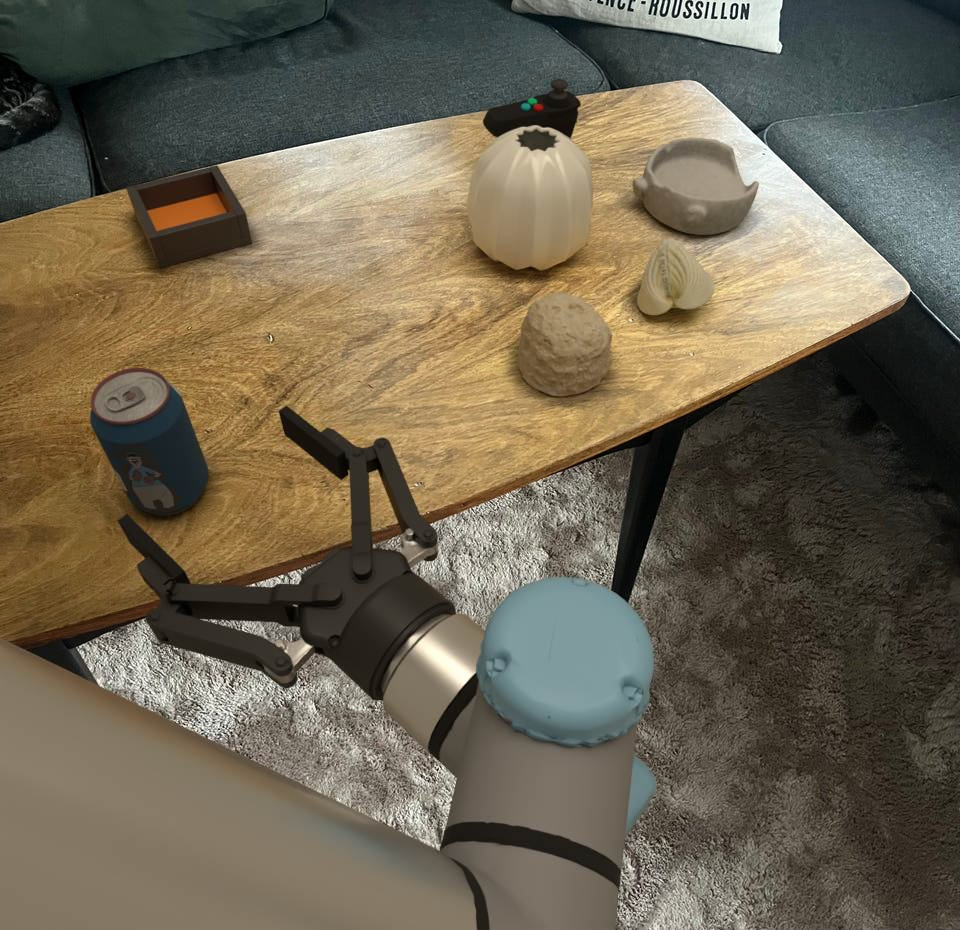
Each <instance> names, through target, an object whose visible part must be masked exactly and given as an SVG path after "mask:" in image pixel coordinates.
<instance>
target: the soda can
mask: <svg viewBox="0 0 960 930" xmlns="http://www.w3.org/2000/svg"><path fill="white" fill-rule="evenodd" d="M90 396H91V397H90V406H91V408H90V409H91V410H90V412H89V413H90V414H89V421H90V426H91V428H92V430H93V432H94V435H95V436H96V438H97V440H98V443H99V444H100V446H101V448H102V450H103V452H104V454H105V455H106V458H107V460H108V461H109V462H108V463H109V464H110V465H111V468H112V469H113V471H114V474H115V475H116V477H117V479H118V481H119V484H120V485H121V487H122V489H123V491H124V494H125V495H126V498H127V499H128V501H129V502H130V503H131V505H133V506H134V507H136V508H137V509H139V510H141V511H143V512H146V513H149V514H152V515H158V516H172V515H176V514H179V513H182V512H184V511H186V510H188V509H189V508H191V507H192V506H194V505H195V504H196V503H197V502H198V500H199V499H201V497H202V495H203V494H204V491H205V490H206V489H207V485H208V482H209V477H210V472H209V467H208V464H207V461H206V458H205V455H204V453H203V451H202V447H201V445H200V442H199V439H198V437H197V434H196V432H195V429H194V426H193V424H192V423H193V422H192V420H191V418H190V415H189V412H188V410H187V407H186V404H185V401H184V399H183V396H182V394H181V392H180V390H178V388H177V387H176V386H175V385H173V384H172V383H171V382H169V381H168V380H167V378H166V377H165V376H164V375H163V374H162V373H160V372H158V371H156V370H154V369H151V368H146V367H129V368H124V369H121V370H118V371H116V372H114V373H112V374H109V375H107V376H106V377H105V378H104V379H102V380H101V381H100V382H98V384H97V385H96V386H95V388H94V389H93V391H92V393H91V395H90Z"/></svg>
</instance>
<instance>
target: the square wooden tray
mask: <svg viewBox="0 0 960 930" xmlns="http://www.w3.org/2000/svg"><path fill="white" fill-rule="evenodd" d="M125 188H126V192H127V194H128V198H129V200H130V205H131V206H132V209H133V212H134V215H135V218H136V220H137V222H138V224H139V226H140V229H141V231H142V233H143V235H144V238H145V240H146V241H147V244H148V247H149V249H150V251H151V252H152V255H153V257H154V259H155V262H156V264H157V266H158V268H159V269H164V268H166V267H170V266H175V265H177V264H178V265H179V264H182V263H185V262H189V261H193V260H196V259H200V258H204V257H207V256H210V255H214V254H217V253H221V252H224V251H225V252H226V251H228V250H233V249H236V248H240V247H243V246H246V245H249V244H253V239H252V236H251V232H250V225H249V221H248V216H247V213H246V211H245V210H244V207H243V205H242V203H241V202H240V201H239V199H238V197H237V195H236V194H235V192H234V191H233V189H232V187H231V186H230V184H229V182H228V181H227V179H226V177H225V175H224V174H223V172H222V170H221V169H220V168H219V166H218V165H216V164H215V165H213V166H209V167H204V168H199V169H197V170H192V171H188V172H184V173H180V174H176V175H172V176H167V177H163V178H158V179H154V180H152V181H147V182H143V183H139V184H134V185H129V186H126V187H125Z"/></svg>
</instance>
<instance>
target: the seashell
mask: <svg viewBox="0 0 960 930" xmlns="http://www.w3.org/2000/svg"><path fill="white" fill-rule="evenodd" d="M648 258H649V259H648V260H647V263H646V265H645V268H644V269H643V273H642V277H641V282H640V288H639V290H638V293H637V297H636V304H637V307H638V309H639V310H640V312H641V313H644V314H645V315H649V316H660V315H662V314H665V313H667V312H668V311H669V310H671V309H682V310H695V309H698V308H700V307H702V306H704V305H706V304H707V303H708V302H709V301H710V300H711V299H712V297H713V295H714V293H715V281H714V279H713V277H712V275H711V274H710V273H709V272H708V271H707V270H705V268H704V267H703V266H702V265H701V264H700V262H699V260H698V259H697V257H696V256H694V254H692V252H691V251H689V250H688V249H687V248H686V247H685V246H684V245H683V244H681V242H678V241H677V240H676V239H675V238H671V237H665V238H662V240H661V241H660V242H659V243H657V245H656V247H655V249H653V251H652V253H651V254H650V257H648Z"/></svg>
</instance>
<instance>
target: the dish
mask: <svg viewBox="0 0 960 930" xmlns="http://www.w3.org/2000/svg"><path fill="white" fill-rule="evenodd" d="M734 151H735V150H734V147H732V146H730V145H729V144H727V143H724V142H722V141H720V140H718V139H715V138H705V137H685V138H675V139H671V140H670V141H668V143H663V144H661V145H659V146H658V147H657V148H655V150H654V151H653V152H652V153H651V154H650V156H649V157H648V159H647V161H646V164H645V166H644V170H643V175H642V178H639V177H636V178H634V179H633V182H632V192H633V194H634V195H635V197H636V198H637V199H641V201H642V204H643V206H644V207H645V210H646V211H647V212H648V213H649V214H650V215H651V216H652V217H653V218H655V219H656V220H658V221H659V222H660V223H662V224H664V225H666V226H668V227H670V228H672V229H675V230H676V231H680V232H683V233H685V234H686V233H687V234H692V235H701V236H710V235H717V234H721V233H724V232H728V231H730V230H733V229H734V228H736V227H737V226H738V225H739V224H741V222H743V220H744V219H745V218H746V217H747V215H748V213H749V211H750V210H751V208H752V206H753V204H754V201H755V199H756V196H757V194H758V189H759V186H760V182H759V181H757V180H755V181H753V182H752V183H751V184H750V185H746V184H745V182H744V180H743V178H742V176H741V173H740V170H739V166H738V164H737V160H736V155H735V152H734Z"/></svg>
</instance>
